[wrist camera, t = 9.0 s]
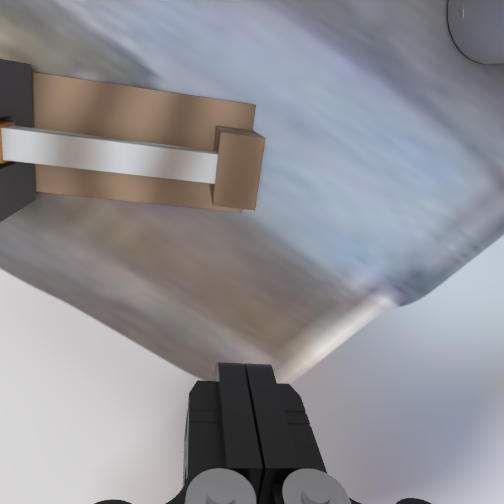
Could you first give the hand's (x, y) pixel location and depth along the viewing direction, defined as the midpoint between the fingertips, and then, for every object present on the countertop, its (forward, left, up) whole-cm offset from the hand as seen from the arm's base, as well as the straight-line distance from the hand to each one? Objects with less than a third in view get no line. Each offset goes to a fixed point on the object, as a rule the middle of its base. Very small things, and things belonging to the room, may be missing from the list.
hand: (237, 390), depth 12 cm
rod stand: (+9, -3, -27) cm, 29 cm away
